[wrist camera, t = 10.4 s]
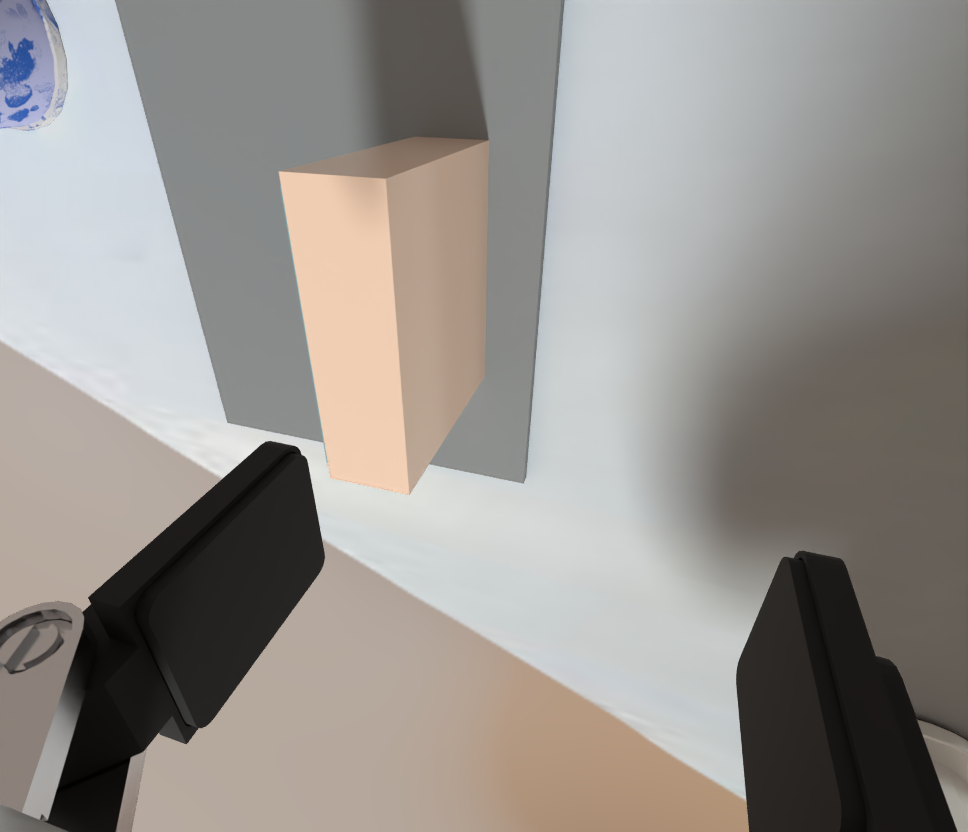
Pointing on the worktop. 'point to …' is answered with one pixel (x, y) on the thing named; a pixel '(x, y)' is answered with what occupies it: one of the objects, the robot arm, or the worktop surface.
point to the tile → (391, 298)
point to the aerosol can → (30, 65)
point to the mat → (337, 131)
